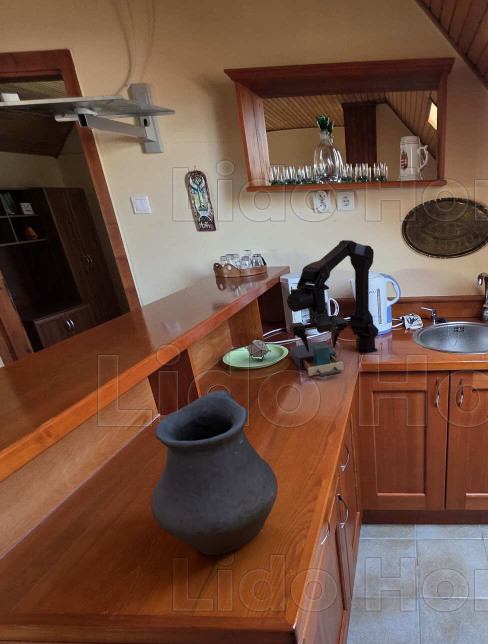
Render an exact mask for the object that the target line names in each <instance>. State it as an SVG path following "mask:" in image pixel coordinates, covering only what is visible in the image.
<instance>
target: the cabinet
mask: <svg viewBox="0 0 488 644" xmlns="http://www.w3.org/2000/svg"><path fill="white" fill-rule="evenodd" d="M320 344H326V345H327V346H328V347H329V354H330V355H333V356H334V357H335V358H336V359H337V352H336V351H335V349H334V348H333V347H331V346H330V345H329V344H328V343H327V342H325V341H319V342H313V343H312V342H311V343H308V347H309V352H307V350H306V348H305V346H304V344H301V345H294V346H290V347H289V349H290V358H291V359H292V361H293V362H294V363H295V365H296V366H297V367H298V368H299V370H307V369H306V368H305V367H304V366H303V364H302V360H303V359H309V358H314V355H313V345H320Z"/></svg>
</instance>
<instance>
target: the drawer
mask: <svg viewBox="0 0 488 644" xmlns="http://www.w3.org/2000/svg"><path fill="white" fill-rule="evenodd" d="M302 364H303V366H304V367H305V368H306V369H305V370H307V376H308V377H311V376H316V375H319V377H320V378H324V377H331V376H335V375H339V374H342V371H341V370H345V368H344V361H339V359H338V358H337V357H336V358H335V357H334V356H333V355H330V364H325V365H320V366H315V364H314V358H309V359H303V360H302Z"/></svg>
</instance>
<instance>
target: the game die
mask: <svg viewBox="0 0 488 644" xmlns="http://www.w3.org/2000/svg"><path fill="white" fill-rule="evenodd" d="M265 341H266V339H265V338H264V339H262V340H260V339H256V338H255V337H253V340H252V341H251V342H250V343H249V345H247V347H244V349H245V350H247V352H248V353H249V357H251V356H253V357H262V356H264V355H265V356H267V354H268V353H269V352H272V350H271V349H269V348H268V346H267V343H266V342H265ZM259 360H260V361H261V362H263V361H264V360H263V359H259Z"/></svg>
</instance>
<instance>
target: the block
mask: <svg viewBox="0 0 488 644" xmlns="http://www.w3.org/2000/svg"><path fill="white" fill-rule="evenodd" d="M313 355H314V364H315V366H320V365H325V364H330V354H329V347H328V346H327V345H326V344H320V345H313Z"/></svg>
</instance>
